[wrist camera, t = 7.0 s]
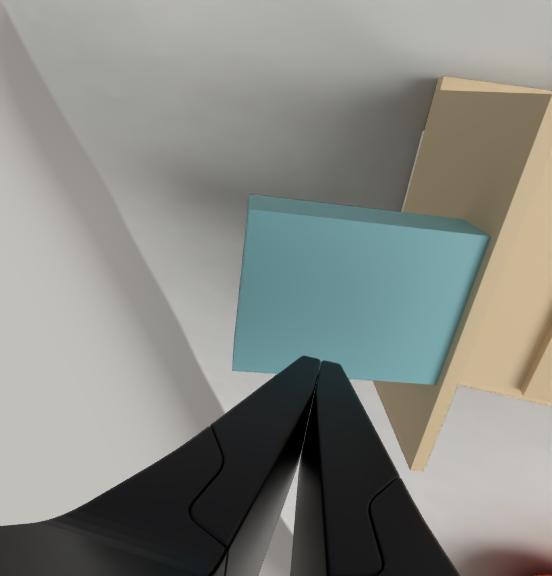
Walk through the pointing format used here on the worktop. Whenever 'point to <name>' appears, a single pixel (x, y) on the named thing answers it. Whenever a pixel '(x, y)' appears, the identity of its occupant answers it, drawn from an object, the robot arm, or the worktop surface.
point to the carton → (516, 293)
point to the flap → (398, 263)
